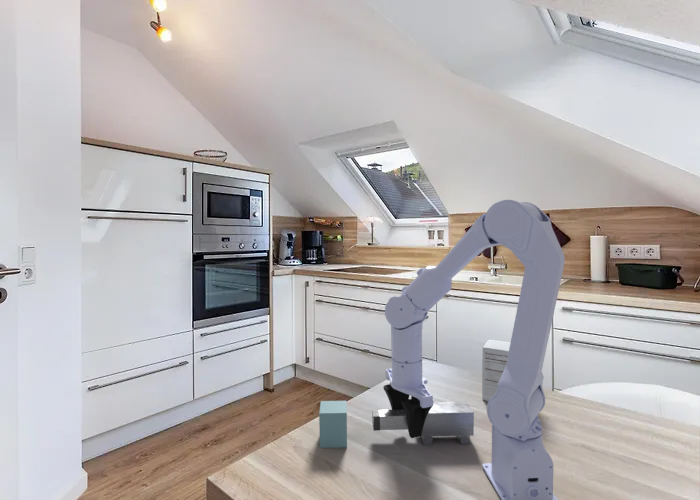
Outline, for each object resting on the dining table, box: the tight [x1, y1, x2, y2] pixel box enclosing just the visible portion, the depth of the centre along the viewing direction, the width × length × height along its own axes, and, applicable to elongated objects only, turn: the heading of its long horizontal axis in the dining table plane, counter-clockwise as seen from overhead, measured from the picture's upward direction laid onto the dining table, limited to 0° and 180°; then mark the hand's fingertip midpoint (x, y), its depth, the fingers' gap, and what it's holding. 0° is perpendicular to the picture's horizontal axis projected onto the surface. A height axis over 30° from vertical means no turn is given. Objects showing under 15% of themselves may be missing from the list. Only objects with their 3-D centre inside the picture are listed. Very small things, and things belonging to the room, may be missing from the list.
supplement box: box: [481, 339, 511, 402], centre depth 91 cm, size 7×7×13 cm
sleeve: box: [419, 401, 475, 446], centre depth 74 cm, size 4×10×6 cm, turn 91°
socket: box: [318, 400, 348, 449], centre depth 73 cm, size 5×5×6 cm
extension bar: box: [371, 409, 408, 432], centre depth 74 cm, size 3×17×3 cm, turn 91°
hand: (407, 428), depth 73 cm, fingers open, 5 cm apart
